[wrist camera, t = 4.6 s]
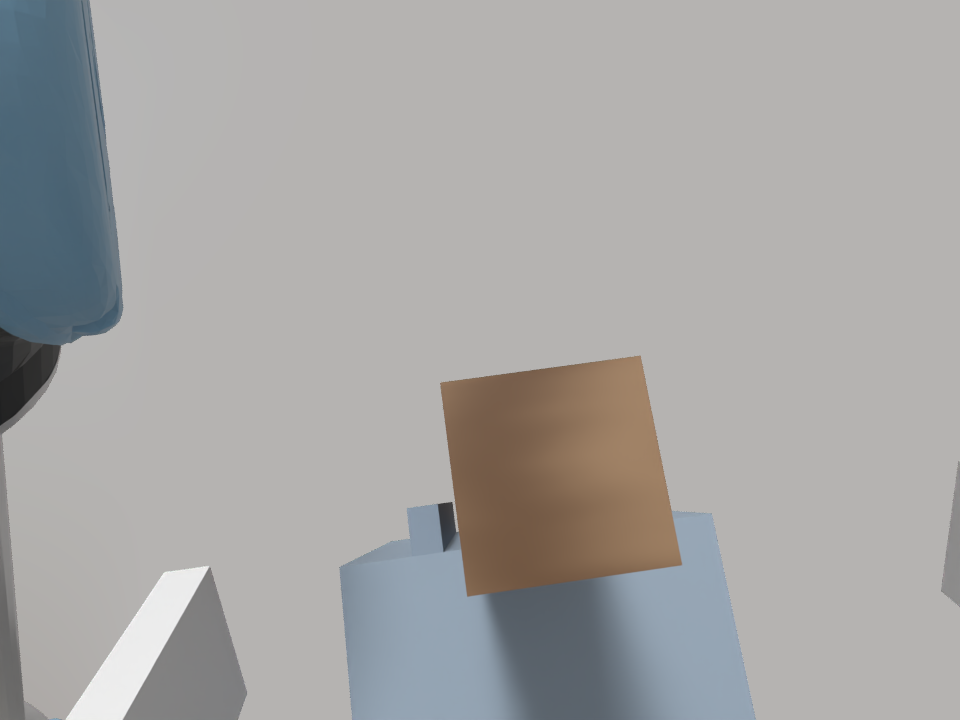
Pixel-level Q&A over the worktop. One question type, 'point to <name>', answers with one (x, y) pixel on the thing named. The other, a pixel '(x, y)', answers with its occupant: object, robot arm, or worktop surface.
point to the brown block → (557, 476)
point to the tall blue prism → (540, 637)
